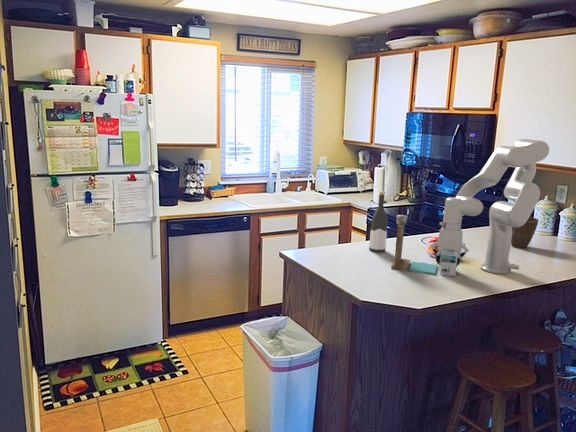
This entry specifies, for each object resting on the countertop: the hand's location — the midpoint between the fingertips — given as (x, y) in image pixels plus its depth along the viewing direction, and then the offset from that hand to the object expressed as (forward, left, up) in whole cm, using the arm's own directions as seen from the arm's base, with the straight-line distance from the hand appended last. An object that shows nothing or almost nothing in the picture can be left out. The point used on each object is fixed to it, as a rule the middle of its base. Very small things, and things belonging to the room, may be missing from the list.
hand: (447, 264), depth 219 cm
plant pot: (-36, -65, -4) cm, 74 cm away
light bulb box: (0, 0, -4) cm, 4 cm away
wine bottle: (+34, -21, -4) cm, 40 cm away
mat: (+10, 0, -3) cm, 11 cm away
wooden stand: (+20, 0, -3) cm, 20 cm away
